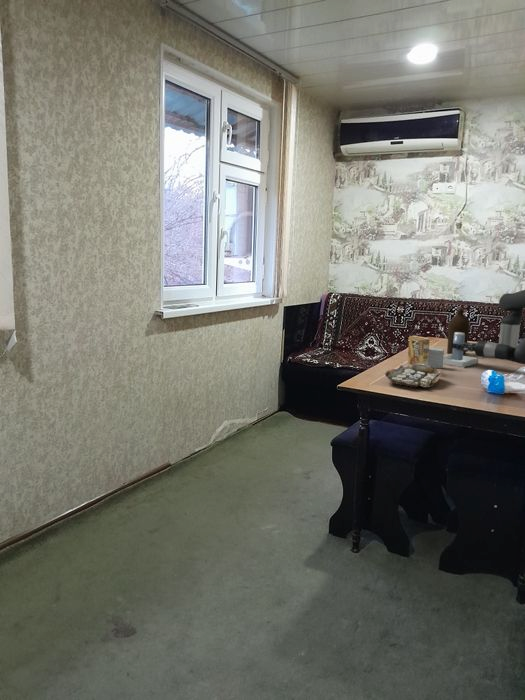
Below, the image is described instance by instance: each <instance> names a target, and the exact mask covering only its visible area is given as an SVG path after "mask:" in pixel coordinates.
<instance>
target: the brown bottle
mask: <svg viewBox="0 0 525 700" xmlns="http://www.w3.org/2000/svg"><path fill="white" fill-rule="evenodd" d="M464 309H465V308H464V307H460V306H459V307H457V310H456V315H454V316H453V317H452V318H451V319H450V320H449V322H448V326H447V327H448V328H447V331H448V332H447V347H446V351H447V355H449V354H452V351H453V348H451V347H450V344H451V343H453V340H454V334H455V332H462V333H465V340H464V342H466V343H467V342H469V341H468V339H469V333H470V328H471V327H470V325H471V324H470V321H469V320H468V319H467V318H466V316H465V315H464V311H465V310H464ZM466 353H467V352H466V351H463V356H466Z"/></svg>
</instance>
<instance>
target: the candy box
mask: <svg viewBox="0 0 525 700" xmlns="http://www.w3.org/2000/svg"><path fill="white" fill-rule="evenodd" d="M408 338H409V339H408V348H407V349H408V352H407V362H406V363H407V364H406V366H407V365H410V364H416V363H418V364H419V363H420V364H426V365H428V355H429V348H430V343H431V342H430V341H431V340H430V338H429V337H424V336H418V335H410V336H408Z"/></svg>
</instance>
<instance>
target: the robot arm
mask: <svg viewBox="0 0 525 700" xmlns="http://www.w3.org/2000/svg"><path fill="white" fill-rule="evenodd" d="M498 304H499V308H500V309H501V310H502V311H505V312H511V313H510V314H508V315H506V316H504V317H501V320H500V331H499V335H498V337H499V339H498V342H492V341H484V340H478V341H477V342H476V343H475V342H469V341H467V343H466V342H464V344H455V343H451V344H450V347H451V348H457V350H461V351H466V353H467V352H469V353H472V352H474V354H475V356H476V357H480V358H481V357H483V358H488V359H498V360H505V361H510V362H513V363H516V364H523V365H525V337H524V338H523V339H521V341H520V342H519V338H520V328H521V323H522V318H523V315H524V313H523V312H524V308H525V289H523V290H519V291H517V292H512V293H510V292H509V293H508V292H507V293H503V294H502V295H501V297H500V298H499V300H498ZM460 346H461V348H460Z"/></svg>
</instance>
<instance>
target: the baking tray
mask: <svg viewBox="0 0 525 700" xmlns="http://www.w3.org/2000/svg"><path fill="white" fill-rule="evenodd" d="M444 373H445V370H439V371H438V369H437V368H435V367H434V366H431V365H426V364H420V363H419V364H418V363H416V364H410V365H407V364H406V365H403V364H402V365H400V366H399V367H398V368H396V369H394V368H392V369H391V370H387V371H386V372H385V373H384V374H385V377H386V378H387V379H388V380H389V382H390V384H392V383H394V384H395V383H396V384H400V385H399V386H401V385H406V386H405V387H408V386H412V387H411V388H414V387H417V388H418V387H422V388H425V389H428V388H427V387H429V388H431V387H433V386H434V384H435V383H437V382H438V381H439V380H440V378H441V377H442V375H443V374H444ZM424 377H425V379H422V378H424ZM406 378H408V379H406ZM402 380H404V381H402ZM418 380H421V381H418ZM415 382H416V383H415Z"/></svg>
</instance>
